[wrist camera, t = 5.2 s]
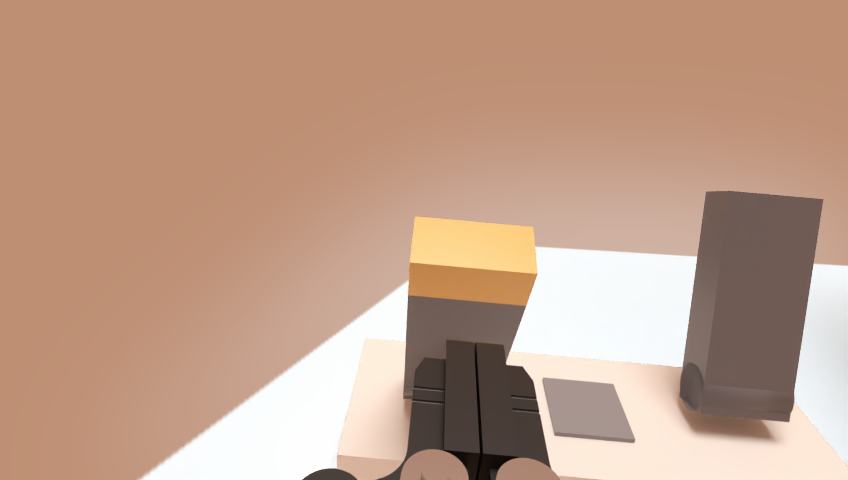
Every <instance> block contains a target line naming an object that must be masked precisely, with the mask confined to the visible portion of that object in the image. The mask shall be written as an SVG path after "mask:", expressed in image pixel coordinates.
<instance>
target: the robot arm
mask: <svg viewBox="0 0 848 480" xmlns="http://www.w3.org/2000/svg"><path fill="white" fill-rule="evenodd" d="M303 480H357V479H356V478H355V477H354V476H353V475H352V474H350V473H348V472H346V471H344V470H340V469H322V470H319V471H316V472H314V473H312V474H310V475H308V476H307V477H305V478H304V479H303ZM376 480H560V479H559V477H558V476H557V475H556V473H555V472H554V471H553V470H552V469H551V466H550V462H549V457H548V452H547V447H546V442H545V437H544V432H543V427H542V422H541V417H540V414H539V406H538V401H537V396H536V391H535V386H534V381H533V380H532V378H531V377H530V376H529V374H528V373H527V372H526V370H525V369H524V368H523V366H514V365H506V358H505V350H504V345H503V344H492V343H481V342H475V344H474V343H473V342H469V341H458V340H447V339H446V341H445V349H444V358H443V359H437V358H426V357H424V359H423V360H422V362H421V363H420V364H419V366H418V367H417V368H416V370H415V376H414V387H413V397H412V407H411V417H410V427H409V437H408V447H407V453H406V456H405V459H404V461H403V462H402V464H401V465H400V466H399V467H398V468H397V469H396V470H395V471H394V472H392V473H391V474H389V475H387V476H385V477H383V478H379V479H376Z"/></svg>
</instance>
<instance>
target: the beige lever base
mask: <svg viewBox="0 0 848 480" xmlns="http://www.w3.org/2000/svg"><path fill="white" fill-rule="evenodd" d="M405 350H406V342H400V341H390V340H379V339H368V338H366V339H365V343H364V347H363V351H362V355H361V359H360V363H359V367H358V372H357V376H356V380H355V384H354V388H353V392H352V396H351V400H350V404H349V409H348V413H347V417H346V421H345V425H344V429H343V433H342V437H341V441H340V446H339V450H338V454H337V469H340V470H344V471H346V472H348V473H350V474H352V475H353V476H354V477H355V478H356V479H357V480H376V479H379V478H383V477H385V476H387V475H389V474H391V473H392V472H394V471H395V470H396V469H397V468H398V467H399V466H400V465H401V464H402V462H403V461H404V459H405V456H406V453H407V447H408V437H409V427H410V417H411V407H412V400H410V399H403V389H404V371H405ZM506 365H514V366H523V368H524V369H525V370H526V372H527V373H528V374H529V376H530V377H531V378H532V380H533V381H534V386H535V391H536V396H537V401H538V406H539V414H540V417H541V422H542V427H543V432H544V437H545V442H546V447H547V452H548V457H549V462H550V466H551V469H552V470H553V471H554V472H555V473H556V475H557V476H558V477H559V479H560V480H848V467H847V465H846V464H845V463H844V462H843V460H842V459H841V458H840V457H839V456H838V454H837V453H836V452H835V451H834V449H833V448H832V447H831V446H830V444H829V443H828V442H827V441H826V440H825V438H824V437H823V436H822V435H821V433H820V432H819V431H818V430H817V428H816V427H815V426H814V425H813V424H812V422H811V421H810V420H809V419H808V417H807V416H806V415H805V414H804V412H803V411H802V410H801V409H800V408H799V406H798V405H797V404H796V403H795V401H794V406H793V410H792V412H791V415H790V421H789V422H781V421H770V420H759V419H748V418H738V417H727V416H716V415H705V414H699V413H698V412H692V411H689V410H688V409H687V408H686V407H685V405H684V403H683V401H682V399H681V398H680V397H679V392H680V376H681V372H682V370H683V367H672V366H661V365H651V364H640V363H629V362H618V361H607V360H596V359H585V358H574V357H564V356H553V355H542V354H531V353H520V352H509V355H508V358H507V361H506Z"/></svg>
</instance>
